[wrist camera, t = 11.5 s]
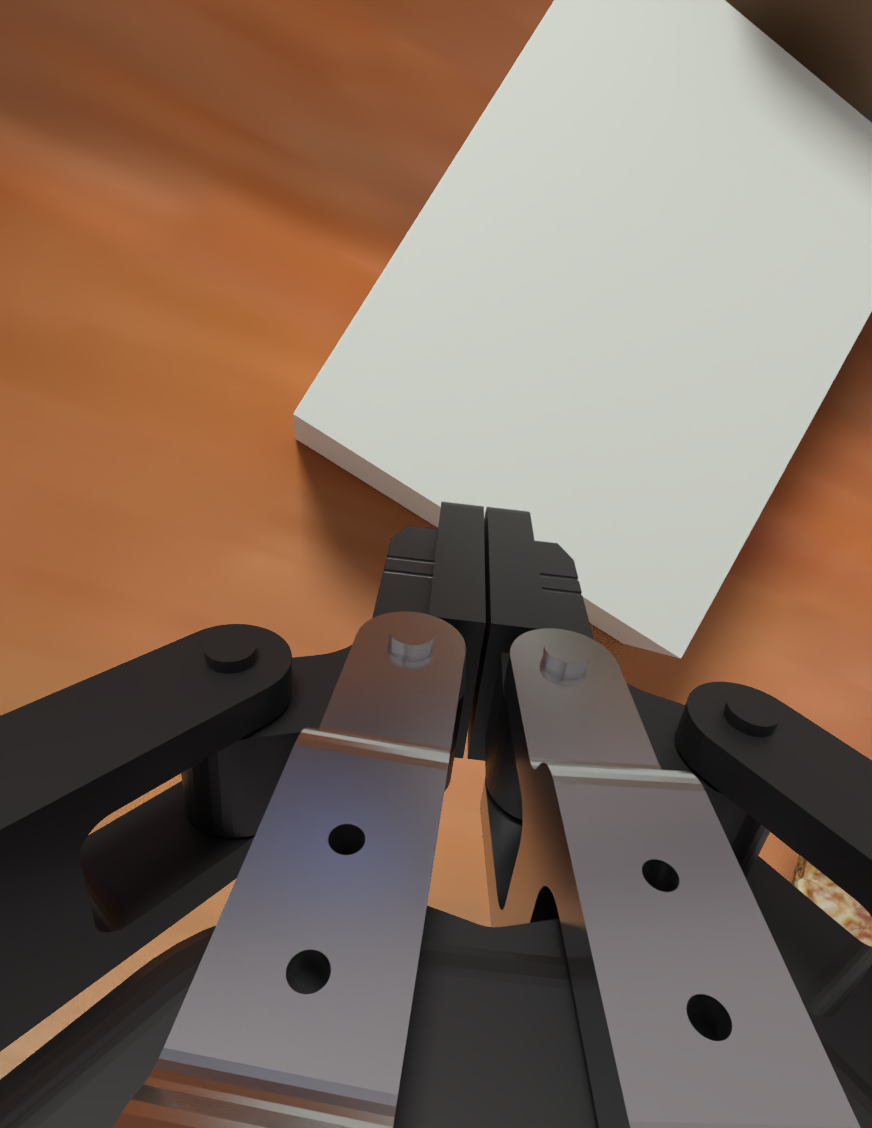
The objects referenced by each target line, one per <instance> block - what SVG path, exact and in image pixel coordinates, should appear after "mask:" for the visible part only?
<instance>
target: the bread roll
mask: <svg viewBox="0 0 872 1128" xmlns="http://www.w3.org/2000/svg"><path fill="white" fill-rule="evenodd" d="M793 878H794V880H793V882H792V885H794V886H795V887H796V888H797V889H798V890H800V891H801V892H802V893H803V894H804V895H805V896H807V897H808V898H809V899H810V900H811V901H813V902H814V903H815V904H816V905H817V906H819V907H820V908H821V909H822V910H823V911H825V912H826V913H827V914H828V915H829V916H831V917H832V918H833V919H834V920H835V921H837V922H838V923H839V924H840V925H841V926H842V927H844V928H845V929H846V930H847V931H848V932H850V933H851V934H852V935H853V936H854V937H856V938H857V939H858V940H860V941H861V942H863V943H865V944H866V945H869V946H871V947H872V917H871V915H870V914H869V913H868V912H867V910H866V909H865V908H864V907H863V906H862V905H861V904H860V903H858V902H857V901H856V900H855V899H854V898H852V897H851V896H850V895H849V894H847V893H846V892H845V891H844V890H842V889H841V888H840V887H839V886H838V885H836V884H835V883H834V882H833V881H831V880H830V879H829V878H828V877H826V876H825V875H824V874H823V873H821V872H820V871H819V870H818V869H816V868H815V867H814V866H813V865H811V864H810V863H809V862H808V861H806V860H805V859H804V858H803V857H801V856H800V855H799V859H798V862H797V865H796V868H795V874H794V877H793Z"/></svg>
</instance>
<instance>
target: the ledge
mask: <svg viewBox="0 0 872 1128" xmlns="http://www.w3.org/2000/svg"><path fill="white" fill-rule="evenodd" d="M871 312H872V123H871V122H870V121H869V120H868V119H866V118H865V117H864V116H863V115H862V114H861V113H859V112H858V111H857V110H856V109H855V108H853V107H852V106H851V105H850V104H849V103H847V102H846V101H845V100H844V99H843V98H841V97H840V96H839V95H838V94H837V93H835V92H834V91H833V90H832V89H831V88H829V87H828V86H827V85H826V84H825V83H823V82H822V81H821V80H820V79H819V78H817V77H816V76H815V75H814V74H813V73H811V72H810V71H809V70H808V69H807V68H805V67H804V66H803V65H802V64H801V63H799V62H798V61H797V60H796V59H795V58H793V57H792V56H791V55H790V54H789V53H787V52H786V51H785V50H784V49H783V48H782V47H780V46H779V45H778V44H777V43H776V42H774V41H773V40H772V39H771V38H770V37H768V36H767V35H766V34H765V33H764V32H762V31H761V30H760V29H759V28H758V27H756V26H755V25H754V24H753V23H752V22H750V21H749V20H748V19H747V18H746V17H744V16H743V15H742V14H741V13H740V12H738V11H737V10H736V9H735V8H734V7H732V6H731V5H730V4H729V3H728V2H726V1H725V0H554V2H553V3H552V5H551V6H550V8H549V9H548V11H547V13H546V14H545V16H544V17H543V19H542V21H541V22H540V24H539V25H538V27H537V28H536V30H535V32H534V33H533V35H532V36H531V38H530V40H529V41H528V43H527V44H526V46H525V47H524V49H523V51H522V52H521V54H520V55H519V57H518V59H517V60H516V62H515V63H514V65H513V66H512V68H511V70H510V71H509V73H508V74H507V76H506V78H505V79H504V81H503V82H502V84H501V85H500V87H499V89H498V90H497V92H496V93H495V95H494V97H493V98H492V100H491V101H490V103H489V104H488V106H487V108H486V109H485V111H484V112H483V114H482V116H481V117H480V119H479V120H478V122H477V123H476V125H475V127H474V128H473V130H472V131H471V133H470V135H469V136H468V138H467V139H466V141H465V142H464V144H463V146H462V147H461V149H460V150H459V152H458V154H457V155H456V157H455V158H454V160H453V161H452V163H451V165H450V166H449V168H448V169H447V171H446V173H445V174H444V176H443V177H442V179H441V180H440V182H439V184H438V185H437V187H436V188H435V190H434V192H433V193H432V195H431V196H430V198H429V199H428V201H427V203H426V204H425V206H424V207H423V209H422V211H421V212H420V214H419V215H418V217H417V218H416V220H415V222H414V223H413V225H412V226H411V228H410V230H409V231H408V233H407V234H406V236H405V237H404V239H403V241H402V242H401V244H400V245H399V247H398V249H397V250H396V252H395V253H394V255H393V256H392V258H391V260H390V261H389V263H388V264H387V266H386V268H385V269H384V271H383V272H382V274H381V275H380V277H379V279H378V280H377V282H376V283H375V285H374V287H373V288H372V290H371V291H370V293H369V294H368V296H367V298H366V299H365V301H364V302H363V304H362V306H361V307H360V309H359V310H358V312H357V313H356V315H355V317H354V318H353V320H352V321H351V323H350V325H349V326H348V328H347V329H346V331H345V332H344V334H343V336H342V337H341V339H340V340H339V342H338V344H337V345H336V347H335V348H334V350H333V351H332V353H331V355H330V356H329V358H328V359H327V361H326V363H325V364H324V366H323V367H322V369H321V370H320V372H319V374H318V375H317V377H316V378H315V380H314V382H313V383H312V385H311V386H310V388H309V389H308V391H307V393H306V394H305V396H304V397H303V399H302V401H301V402H300V404H299V405H298V407H297V408H296V410H295V412H294V413H293V418H294V429H295V439H296V440H298V441H300V442H301V443H303V444H304V445H306V446H308V447H309V448H311V449H312V450H314V451H316V452H317V453H319V454H320V455H322V456H324V457H325V458H327V459H328V460H330V461H332V462H333V463H335V464H336V465H338V466H340V467H341V468H343V469H344V470H346V471H348V472H349V473H351V474H352V475H354V476H356V477H357V478H359V479H360V480H362V481H364V482H365V483H367V484H368V485H370V486H372V487H373V488H375V489H376V490H378V491H380V492H381V493H383V494H384V495H386V496H388V497H389V498H391V499H392V500H394V501H396V502H397V503H399V504H400V505H402V506H404V507H405V508H407V509H408V510H410V511H412V512H413V513H415V514H416V515H418V516H420V517H421V518H423V519H424V520H426V521H428V522H429V523H431V524H432V525H434V526H436V527H437V528H438V526H439V518H440V509H441V501H442V502H451V503H459V504H468V505H476V506H484V516H485V512H486V508H487V507H494V508H503V509H511V510H519V511H528V512H530V515H531V521H532V528H533V534H534V541H542V542H551V543H558V544H559V545H560V546H561V547H562V548H563V549H564V550H565V551H566V552H567V553H568V555H569V556H570V557H571V558H572V559H573V560H574V563H575V567H576V571H577V575H578V581H579V583H580V587H581V591H582V593H581V595H582V596H583V599H584V603H585V607H586V611H587V615H588V619H589V623H591V624H592V625H594V626H595V627H597V628H599V629H600V630H602V631H603V632H605V633H607V634H608V635H610V636H611V637H613V638H615V639H616V640H618V641H619V642H621V643H623V644H626V645H630V646H634V647H638V648H642V649H645V650H649V651H653V652H657V653H661V654H665V655H668V656H672V657H676V658H680V659H681V658H682V656H683V654H684V652H685V650H686V649H687V647H688V645H689V643H690V641H691V639H692V638H693V636H694V634H695V632H696V630H697V629H698V627H699V625H700V623H701V621H702V619H703V618H704V616H705V614H706V612H707V610H708V609H709V607H710V605H711V603H712V601H713V599H714V598H715V596H716V594H717V592H718V590H719V588H720V587H721V585H722V583H723V581H724V579H725V578H726V576H727V574H728V572H729V570H730V568H731V567H732V565H733V563H734V561H735V559H736V558H737V556H738V554H739V552H740V550H741V548H742V547H743V545H744V543H745V541H746V539H747V538H748V536H749V534H750V532H751V530H752V528H753V527H754V525H755V523H756V521H757V519H758V517H759V516H760V514H761V512H762V510H763V508H764V507H765V505H766V503H767V501H768V499H769V497H770V496H771V494H772V492H773V490H774V488H775V487H776V485H777V483H778V481H779V479H780V477H781V476H782V474H783V472H784V470H785V468H786V466H787V465H788V463H789V461H790V459H791V457H792V456H793V454H794V452H795V450H796V448H797V446H798V445H799V443H800V441H801V439H802V437H803V436H804V434H805V432H806V430H807V428H808V426H809V425H810V423H811V421H812V419H813V417H814V415H815V414H816V412H817V410H818V408H819V406H820V405H821V403H822V401H823V399H824V397H825V395H826V394H827V392H828V390H829V388H830V386H831V385H832V383H833V381H834V379H835V377H836V375H837V374H838V372H839V370H840V368H841V366H842V364H843V363H844V361H845V359H846V357H847V355H848V354H849V352H850V350H851V348H852V346H853V344H854V343H855V341H856V339H857V337H858V335H859V334H860V332H861V330H862V328H863V326H864V324H865V323H866V321H867V319H868V317H869V315H870V313H871Z"/></svg>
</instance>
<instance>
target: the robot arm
mask: <svg viewBox="0 0 872 1128" xmlns="http://www.w3.org/2000/svg"><path fill="white" fill-rule="evenodd" d="M581 593H582V591H581V587H580V583H579V581H578V575H577V571H576V567H575V563H574V560H573V559H572V558H571V557H570V556H569V555H568V553H567V552H566V551H565V550H564V549H563V548H562V547H561V546H560V545H559V544H558V543H551V542H542V541H534V534H533V528H532V521H531V515H530V512H528V511H519V510H511V509H503V508H494V507H487V508H486V512H485V516H484V506H476V505H468V504H459V503H451V502H442V501H441V509H440V518H439V526H438V529H430V528H422V527H413V526H406V527H405V528H404V529H403V530H401V531H400V532H399V533H398V534H396V535H395V536H394V537H393V538H391V542H390V546H389V550H388V554H387V559H386V563H385V567H384V572H383V575H382V580H381V584H380V588H379V592H378V596H377V601H376V605H375V609H374V613H373V617H372V619H370V620H369V621H367V622H366V623H364V624H363V625H362V627H361V628H360V629H359V631H358V632H357V634H356V637H355V639H354V642H353V644H352V645H351V646H349V647H347V648H345V649H342V650H339V651H337V652H333V653H329V654H323V655H315V656H305V657H295V658H292V654H291V650H290V647H289V645H288V644H287V643H286V641H285V640H284V639H283V638H281V637H280V636H279V635H277V634H276V633H274V632H272V631H270V630H267V629H265V628H261V627H258V626H253V625H245V624H229V625H220V626H215V627H211V628H207V629H204V630H201V631H198V632H196V633H193V634H191V635H189V636H186V637H184V638H182V639H179V640H177V641H175V642H172V643H170V644H168V645H165V646H163V647H161V648H158V649H156V650H154V651H151V652H149V653H147V654H144V655H142V656H140V657H137V658H135V659H133V660H130V661H128V662H126V663H123V664H121V665H119V666H116V667H114V668H112V669H109V670H107V671H105V672H102V673H100V674H97V675H95V676H93V677H90V678H88V679H86V680H83V681H81V682H79V683H76V684H74V685H72V686H69V687H67V688H65V689H62V690H60V691H58V692H55V693H53V694H51V695H48V696H46V697H44V698H41V699H39V700H37V701H34V702H32V703H30V704H27V705H25V706H23V707H20V708H18V709H16V710H13V711H11V712H8V713H6V714H4V715H1V716H0V1051H2V1050H3V1049H4V1048H6V1047H7V1046H8V1045H10V1044H11V1043H13V1042H14V1041H15V1040H17V1039H18V1038H19V1037H21V1036H22V1035H23V1034H25V1033H26V1032H28V1031H29V1030H30V1029H32V1028H33V1027H34V1026H36V1025H37V1024H38V1023H40V1022H41V1021H42V1020H44V1019H45V1018H47V1017H48V1016H49V1015H51V1014H52V1013H53V1012H55V1011H56V1010H57V1009H59V1008H60V1007H62V1006H63V1005H64V1004H66V1003H67V1002H68V1001H70V1000H71V999H72V998H74V997H75V996H77V995H78V994H79V993H81V992H82V991H83V990H85V989H86V988H87V987H89V986H90V985H92V984H93V983H94V982H96V981H97V980H98V979H100V978H101V977H102V976H104V975H105V974H107V973H108V972H109V971H111V970H112V969H113V968H115V967H116V966H117V965H119V964H120V963H122V962H123V961H124V960H126V959H127V958H128V957H130V956H131V955H132V954H134V953H135V952H137V951H138V950H139V949H141V948H142V947H143V946H145V945H146V944H147V943H149V942H150V941H151V940H153V939H154V938H156V937H157V936H158V935H160V934H161V933H162V932H164V931H165V930H166V929H168V928H169V927H171V926H172V925H173V924H175V923H176V922H177V921H179V920H180V919H181V918H183V917H184V916H186V915H187V914H188V913H190V912H191V911H192V910H194V909H195V908H196V907H198V906H199V905H201V904H202V903H203V902H205V901H206V900H207V899H209V898H210V897H211V896H213V895H214V894H216V893H217V892H218V891H220V890H221V889H222V888H224V887H225V886H226V885H228V884H229V883H231V882H232V881H233V880H235V879H236V878H237V879H236V881H235V883H234V886H233V888H232V890H231V893H230V895H229V897H228V900H227V902H226V904H225V907H224V909H223V911H222V913H221V916H220V918H219V920H218V923H217V925H216V926H214V927H211V928H209V929H206V930H203V931H201V932H199V933H197V934H195V935H193V936H191V937H189V938H187V939H185V940H183V941H181V942H179V943H177V944H176V945H174V946H173V947H171V948H170V949H168V950H166V951H165V952H163V953H162V954H160V955H159V956H157V957H155V958H154V959H152V960H151V961H150V962H148V963H147V964H146V965H144V966H143V967H142V968H140V969H139V970H138V971H136V972H135V973H134V974H132V975H131V976H130V977H129V978H127V979H126V980H125V981H124V982H122V983H121V984H120V985H119V986H117V987H116V988H115V989H114V990H112V991H111V992H110V993H109V994H107V995H106V996H105V997H104V998H102V999H101V1000H100V1001H99V1002H97V1003H96V1004H95V1005H94V1006H92V1007H91V1008H90V1009H89V1010H87V1011H86V1012H85V1013H84V1014H82V1015H81V1016H80V1017H79V1018H77V1019H76V1020H75V1021H73V1022H72V1023H71V1024H70V1025H68V1026H67V1027H66V1028H65V1029H63V1030H62V1031H61V1032H60V1033H58V1034H57V1035H56V1036H55V1037H53V1038H52V1039H51V1040H50V1041H48V1042H47V1043H46V1044H45V1045H43V1046H42V1047H41V1048H40V1049H38V1050H37V1051H36V1052H35V1053H33V1054H32V1055H31V1056H30V1057H28V1058H27V1059H26V1060H25V1061H23V1062H22V1063H21V1064H20V1065H18V1066H17V1067H16V1068H15V1069H13V1070H12V1071H11V1072H10V1073H8V1074H7V1075H6V1076H5V1077H3V1078H2V1079H1V1080H0V1128H872V947H871V946H869V945H866V944H865V943H863V942H861V941H860V940H858V939H857V938H856V937H854V936H853V935H852V934H851V933H850V932H848V931H847V930H846V929H845V928H844V927H842V926H841V925H840V924H839V923H838V922H837V921H835V920H834V919H833V918H832V917H831V916H829V915H828V914H827V913H826V912H825V911H823V910H822V909H821V908H820V907H819V906H817V905H816V904H815V903H814V902H813V901H811V900H810V899H809V898H808V897H807V896H805V895H804V894H803V893H802V892H801V891H800V890H798V889H797V888H796V887H795V886H794V885H792V884H791V883H790V882H789V881H788V880H786V879H785V878H784V877H783V876H782V875H780V874H779V873H778V872H777V871H776V870H774V869H773V868H772V867H771V866H770V865H769V864H767V863H766V862H765V861H764V860H763V859H761V858H760V857H759V856H758V855H759V853H760V851H761V849H762V847H763V845H764V843H765V841H766V839H767V837H768V835H769V833H770V832H771V833H773V834H774V835H775V836H776V837H778V838H779V839H780V840H781V841H783V842H784V843H785V844H786V845H788V846H789V847H790V848H791V849H793V850H794V851H795V852H796V853H798V854H799V855H800V856H801V857H803V858H804V859H805V860H806V861H808V862H809V863H810V864H811V865H813V866H814V867H815V868H816V869H818V870H819V871H820V872H821V873H823V874H824V875H825V876H826V877H828V878H829V879H830V880H831V881H833V882H834V883H835V884H836V885H838V886H839V887H840V888H841V889H842V890H844V891H845V892H846V893H847V894H849V895H850V896H851V897H852V898H854V899H855V900H856V901H857V902H858V903H860V904H861V905H862V906H863V907H864V908H865V909H866V910H867V912H868V913H869V914H870V915H871V917H872V760H870V759H869V758H867V757H865V756H864V755H862V754H861V753H859V752H858V751H856V750H855V749H853V748H852V747H850V746H849V745H847V744H845V743H844V742H842V741H841V740H839V739H838V738H836V737H835V736H833V735H832V734H830V733H829V732H827V731H825V730H824V729H822V728H821V727H819V726H818V725H816V724H815V723H813V722H812V721H810V720H809V719H807V718H805V717H804V716H802V715H801V714H799V713H798V712H796V711H795V710H793V709H792V708H790V707H789V706H787V705H785V704H784V703H782V702H781V701H779V700H777V699H776V698H774V697H772V696H770V695H768V694H766V693H764V692H762V691H760V690H757V689H754V688H752V687H748V686H745V685H741V684H736V683H730V682H711V683H706V684H703V685H700V686H698V687H697V688H695V689H694V690H693V691H692V692H691V693H690V695H689V697H688V700H687V703H686V705H683V704H680V703H677V702H674V701H671V700H668V699H664V698H661V697H658V696H655V695H652V694H650V693H647V692H644V691H642V690H639V689H637V688H635V687H633V686H631V685H629V684H628V683H626V681H625V679H624V676H623V674H622V671H621V669H620V666H619V664H618V662H617V660H616V658H615V657H614V656H613V655H612V653H611V652H610V651H609V650H608V649H607V648H605V647H604V646H603V645H601V644H600V643H598V642H597V641H595V640H594V639H593V635H592V631H591V627H590V623H589V619H588V615H587V611H586V607H585V603H584V599H583V596H582V595H581ZM467 731H468V759H475V760H484V761H485V766H486V777H485V782H484V787H483V792H482V797H481V802H480V812H481V823H482V833H483V843H484V854H485V864H486V875H487V885H488V895H489V906H490V916H491V927H485V926H482V925H478V924H476V923H473V922H470V921H467V920H465V919H462V918H459V917H457V916H454V915H451V914H448V913H446V912H443V911H440V910H438V909H435V908H432V907H429V906H427V902H428V895H429V889H430V882H431V876H432V869H433V862H434V856H435V849H436V843H437V836H438V830H439V823H440V817H441V810H442V803H443V797H444V792H445V790H446V789H447V788H448V785H449V783H450V779H451V773H452V767H453V761H454V757H456V758H463V755H464V749H465V743H466V737H467ZM180 773H181V775H182V781H181V782H179V783H177V784H176V785H174V786H172V787H171V788H169V789H167V790H165V791H164V792H162V793H160V794H159V795H157V796H155V797H153V798H152V799H150V800H148V801H147V802H145V803H143V804H141V805H140V806H138V807H136V808H135V809H133V810H131V811H129V812H128V813H126V814H124V815H123V816H121V817H119V818H117V819H116V820H114V821H112V822H111V823H109V824H107V825H105V826H104V827H102V828H100V829H99V830H97V831H95V832H93V833H92V834H90V835H88V834H89V833H90V832H91V831H92V829H93V828H94V827H95V826H96V825H97V824H98V823H99V822H100V821H101V820H103V819H104V818H105V817H106V816H108V815H110V814H111V813H113V812H114V811H116V810H118V809H120V808H121V807H123V806H125V805H126V804H128V803H130V802H132V801H133V800H135V799H137V798H139V797H140V796H142V795H144V794H146V793H147V792H149V791H151V790H153V789H154V788H156V787H158V786H160V785H161V784H163V783H165V782H167V781H168V780H170V779H172V778H174V777H175V776H177V775H179V774H180Z"/></svg>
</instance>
